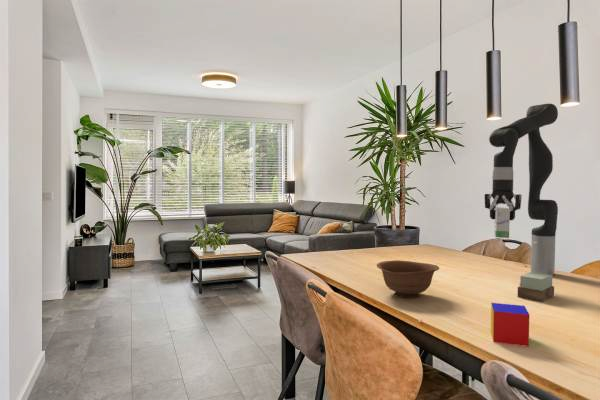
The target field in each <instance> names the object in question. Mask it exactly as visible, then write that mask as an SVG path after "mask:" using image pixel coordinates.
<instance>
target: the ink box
mask: <svg viewBox="0 0 600 400" xmlns="http://www.w3.org/2000/svg"><path fill="white" fill-rule="evenodd" d="M494 210H495V219H494V232H493V233H494V236H495V238H500V239H501V238H502V239H504V238H505V239H509V238H510V221H511V220H510V211H511V210H510V209H509V207H500V206H496V208H495V209H494Z"/></svg>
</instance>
